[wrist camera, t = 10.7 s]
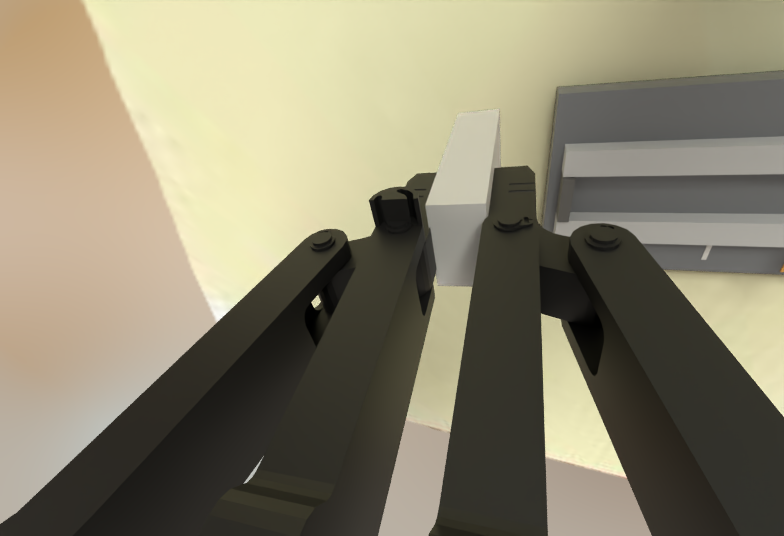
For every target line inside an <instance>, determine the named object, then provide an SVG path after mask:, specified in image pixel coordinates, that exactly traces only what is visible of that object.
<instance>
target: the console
mask: <svg viewBox="0 0 784 536" xmlns="http://www.w3.org/2000/svg"><path fill="white" fill-rule="evenodd" d="M595 223H606V224H612V225H617V226H620V227H622V228H625V229H627V230H629V231H630V232H631V233H632V234H634V235H635V236H636V237H637V239H638V240H639V241H640V242H641V243H642V245H643V246H644V247H645V248H646V250H647V251H648V252H649V253H650V254H651V256H652V257H653V258H654V259H655V261H656V262H657V263H658V264H659V265H660V267H661V268H662V269H665V270H689V271H712V272H736V273H759V274H782V275H784V71H771V72H757V73H743V74H729V75H715V76H701V77H688V78H674V79H660V80H646V81H632V82H618V83H605V84H591V85H577V86H563V87H557V95H556V103H555V112H554V121H553V130H552V139H551V147H550V156H549V165H548V174H547V183H546V192H545V200H544V209H543V218H542V227H543V228H544V229H546V230H547V231H550V232H552V233H555V234H559V235H563V236H569V237H570V236H571V234H572V232H573V231H574V230H576V229H578V228H579V227H581V226H584V225H588V224H595Z"/></svg>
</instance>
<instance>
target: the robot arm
mask: <svg viewBox="0 0 784 536" xmlns="http://www.w3.org/2000/svg"><path fill="white" fill-rule="evenodd" d="M535 190H536V189H535V173H534V172H533V171H532V170H531V169H530V168H529V167H528V166H518V167H501V152H500V109H491V110H482V111H472V112H463V113H458V115H457V117H456V120H455V123H454V126H453V129H452V132H451V134H450V137H449V140H448V143H447V146H446V148H445V151H444V154H443V157H442V160H441V162H440V165H439V168H438V171H437V173H421V174H416V175H415V176H414V177H413V178H411V179H410V180H409V181H408V182H407V185H406V187H393V188H388V189H385V190H382V191H380V192H378V193H377V194H375V195H373V196H372V198H371V199H370V200H369V202H370V206H371V210H372V214H373V218H374V222H375V226H376V227H375V229H374V231H373V233H372V235H371V236H370V237H366V238H362V239H357V240H353V241H348V239H347V236H346V234H345V233H344V232H343V231H340V230H337V229H326V230H321V231H318V232H316V233H314V234H312V235H310V236H309V237H308V238H306V239H305V240H304V241H303V242H302V243H301V244H299V245H298V246H297V247H296V248H295V249H294V250H293V251H292V252H291V253H290V254H289V255H288V256H287V257H286V258H285V259H284V260H283V261H282V262H280V263H279V264H278V265H277V266H276V267H275V268H274V269H273V270H272V271H271V272H270V273H269V274H268V275H267V276H266V277H265V278H264V279H263V280H262V281H260V282H259V283H258V284H257V285H256V286H255V287H254V288H253V289H252V290H251V291H250V292H249V293H248V294H247V295H246V296H245V297H244V298H243V299H242V300H240V301H239V302H238V303H237V304H236V305H235V306H234V307H233V308H232V309H231V310H230V311H229V312H228V313H227V314H226V315H225V316H224V317H223V318H221V319H220V320H219V321H218V322H217V323H216V324H215V325H214V326H213V327H212V328H211V329H210V330H209V331H208V332H207V333H206V334H205V335H204V336H203V337H202V338H201V339H199V340H198V341H197V342H196V343H195V344H194V345H193V346H192V347H191V348H190V349H189V350H188V351H187V352H186V353H185V354H184V355H182V356H181V357H180V358H179V359H178V360H177V361H176V362H175V363H174V364H173V365H172V366H171V367H170V368H169V369H168V370H167V371H166V372H165V373H164V374H162V375H161V376H160V377H159V379H157V380H156V381H155V382H154V383H153V384H152V385H151V386H150V387H149V388H148V389H147V390H146V391H145V392H144V393H142V394H141V395H140V396H139V397H138V398H137V399H136V400H135V401H134V402H133V403H132V404H131V405H130V406H129V407H128V408H127V409H126V410H125V411H123V412H122V413H121V414H120V415H119V416H118V417H117V418H116V419H115V420H114V421H113V422H112V423H111V424H110V425H109V426H108V427H107V428H106V429H105V430H103V432H102V433H101V434H99V435H98V436H97V437H96V438H95V439H94V440H93V441H92V442H91V443H90V444H89V445H88V446H87V447H86V448H84V449H83V450H82V451H81V453H79V454H78V455H77V456H76V457H75V458H74V459H73V460H72V461H71V462H70V463H69V464H68V465H67V466H66V467H64V469H63V470H61V471H60V472H59V473H58V474H57V475H56V476H55V477H54V478H53V479H52V480H51V481H50V482H49V483H48V484H47V485H45V487H43V488H42V489H41V490H40V491H39V492H38V493H37V494H36V495H35V496H34V497H33V498H32V499H31V500H30V501H29V502H28V503H27V504H25V505H24V507H22V508H21V509H20V510H19V511H18V512H17V513H16V514H14V515H13V516H11V517H10V518H8V519H7V520H6V521H4V522H3V523H1V524H0V536H378V533H379V528H380V524H381V520H382V515H383V512H384V508H385V503H386V499H387V495H388V491H389V487H390V483H391V478H392V474H393V470H394V466H395V462H396V457H397V453H398V449H399V445H400V441H401V436H402V432H403V428H404V424H405V420H406V416H407V412H408V407H409V403H410V399H411V395H412V391H413V387H414V382H415V378H416V374H417V370H418V366H419V362H420V357H421V353H422V349H423V345H424V341H425V336H426V332H427V328H428V324H429V320H430V316H431V311H432V307H433V303H434V299H435V293H434V286H433V281H434V277H435V274H436V277H437V284H438V285H439V286H472V287H473V288H472V294H471V301H470V307H469V314H468V320H467V327H466V334H465V340H464V347H463V353H462V360H461V366H460V373H459V380H458V386H457V393H456V399H455V406H454V413H453V419H452V426H451V432H450V439H449V445H448V452H447V459H446V465H445V472H444V478H443V485H442V492H441V499H440V505H439V510H438V516H437V519H436V523H435V525H434V527H433V528H432V530H431V531H430V533H429V536H548V529H547V496H546V464H545V432H544V400H543V368H542V336H541V313H542V314H545V315H548V316H552V317H555V318H559V319H561V322H562V327H563V329H564V332H565V334H566V336H567V339H568V341H569V343H570V346H571V348H572V350H573V353H574V355H575V357H576V360H577V362H578V364H579V367H580V369H581V371H582V374H583V376H584V378H585V381H586V383H587V385H588V388H589V390H590V392H591V395H592V397H593V399H594V402H595V404H596V406H597V409H598V411H599V413H600V416H601V418H602V420H603V423H604V425H605V427H606V430H607V432H608V434H609V437H610V439H611V441H612V444H613V446H614V448H615V451H616V453H617V455H618V458H619V460H620V462H621V465H622V467H623V469H624V472H625V474H626V476H627V479H628V481H629V483H630V485H631V488H632V490H633V492H634V495H635V497H636V499H637V502H638V504H639V506H640V509H641V511H642V514H643V516H644V518H645V521H646V523H647V525H648V527H649V530H650V532H651V535H652V536H784V417H783V415H782V414H781V413H780V412H779V411H778V409H777V408H776V407H775V406H774V404H773V403H772V402H771V401H770V400H769V398H768V397H767V396H766V395H765V393H764V392H763V391H762V390H761V389H760V387H759V386H758V385H757V384H756V383H755V381H754V380H753V379H752V378H751V376H750V375H749V374H748V373H747V372H746V370H745V369H744V368H743V367H742V365H741V364H740V363H739V362H738V361H737V359H736V358H735V357H734V356H733V354H732V353H731V352H730V351H729V350H728V348H727V347H726V346H725V345H724V343H723V342H722V341H721V340H720V339H719V337H718V336H717V335H716V334H715V333H714V331H713V330H712V329H711V328H710V326H709V325H708V324H707V323H706V322H705V320H704V319H703V318H702V317H701V315H700V314H699V313H698V312H697V311H696V309H695V308H694V307H693V306H692V304H691V303H690V302H689V301H688V300H687V298H686V297H685V296H684V295H683V293H682V292H681V291H680V290H679V289H678V287H677V286H676V285H675V284H674V282H673V281H672V280H671V279H670V278H669V276H668V275H667V274H666V273H665V272H664V270H663V269H662V268H661V267H660V265H659V264H658V263H657V262H656V261H655V259H654V258H653V257H652V256H651V254H650V253H649V252H648V251H647V250H646V248H645V247H644V246H643V245H642V243H641V242H640V241H639V240H638V239H637V237H636V236H635V235H634V234H632V233H631V232H630V231H629V230H627V229H625V228H622V227H620V226H617V225H612V224H606V223H595V224H588V225H584V226H581V227H579V228H578V229H576V230H574V231H573V232H572V234H571V236H570V237H569V236H563V235H559V234H555V233H552V232H550V231H547V230H546V229H544V228H543V227H541V226H540V224H539V223H538V222H537V218H536V191H535ZM317 295H318V296H319V298H320V301H321V303H320V304H319V305H318V306H317V307H315V308H314V307H313V305H312V303H311V302H312V301H313V300H314V298H315V297H316V296H317ZM263 456H264V457H263ZM262 457H263V459H262ZM261 459H262V461H261V463H260V465H259V467H258V469H257V471H256V472H255V474H254V476H253V477H252V478H251V479H250V480H249V481H248V482H247V483H245V484H243V483H244V482H245V481H246V479H247V478H248V477H249V475H250V474H251V472H252V471H253V469H254V468H255V467H256V466H257V464H258V463H259V461H260V460H261Z"/></svg>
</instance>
